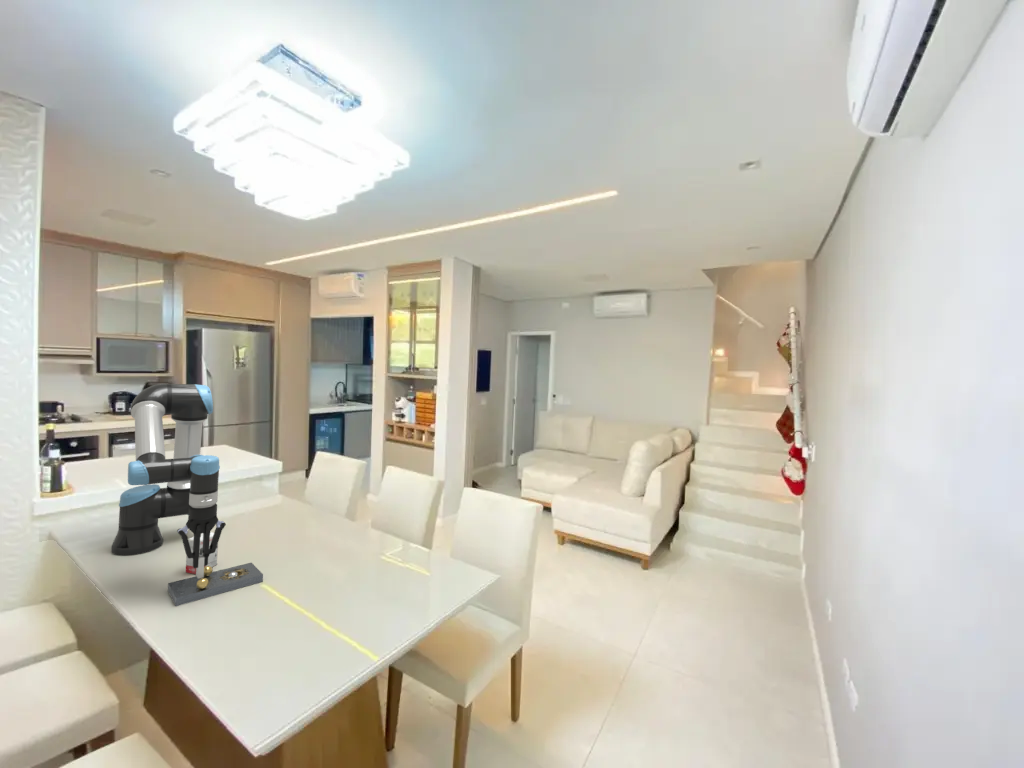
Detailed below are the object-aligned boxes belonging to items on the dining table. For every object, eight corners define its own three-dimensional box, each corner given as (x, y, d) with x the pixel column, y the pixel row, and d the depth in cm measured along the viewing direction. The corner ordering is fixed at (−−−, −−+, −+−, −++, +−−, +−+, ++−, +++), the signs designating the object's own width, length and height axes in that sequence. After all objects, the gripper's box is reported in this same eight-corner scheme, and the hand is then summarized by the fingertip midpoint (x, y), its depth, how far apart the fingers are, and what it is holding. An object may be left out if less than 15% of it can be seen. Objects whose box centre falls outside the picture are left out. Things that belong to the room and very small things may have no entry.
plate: (175, 606, 132) (176, 598, 132) (167, 590, 140) (168, 583, 140) (262, 581, 149) (263, 574, 149) (251, 569, 157) (251, 562, 157)
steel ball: (224, 578, 148) (231, 569, 149) (232, 582, 149) (239, 573, 151) (225, 580, 145) (232, 570, 147) (234, 584, 147) (241, 575, 148)
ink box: (196, 575, 151) (198, 541, 151) (184, 572, 152) (186, 539, 152) (217, 564, 159) (219, 532, 159) (206, 562, 160) (208, 530, 160)
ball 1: (195, 588, 138) (195, 578, 138) (207, 584, 140) (207, 575, 140) (197, 592, 136) (198, 581, 136) (209, 588, 138) (210, 578, 138)
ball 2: (199, 575, 146) (200, 566, 146) (210, 572, 148) (211, 563, 148) (202, 578, 144) (202, 569, 144) (213, 576, 146) (213, 566, 146)
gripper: (180, 511, 133) (177, 587, 134) (230, 503, 143) (226, 574, 143) (175, 505, 138) (172, 578, 139) (223, 498, 148) (219, 566, 148)
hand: (199, 576), depth 141 cm, fingers closed
